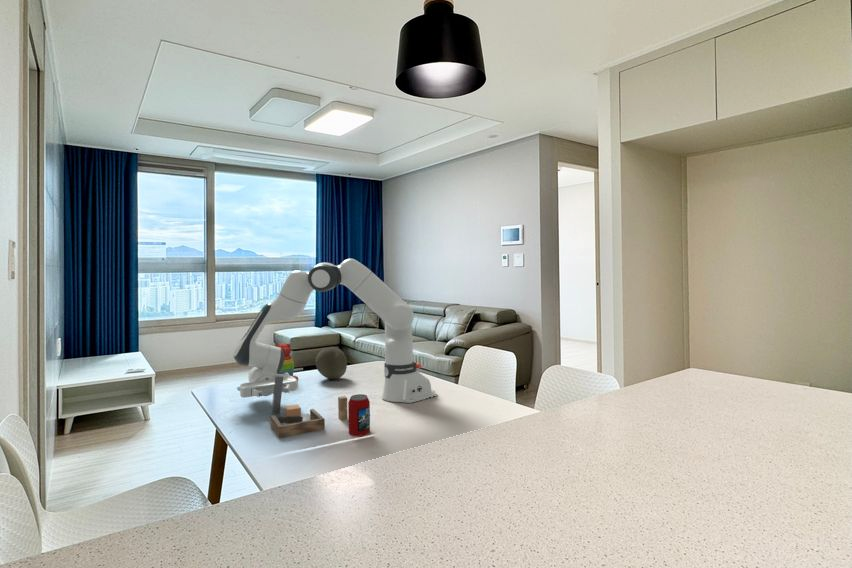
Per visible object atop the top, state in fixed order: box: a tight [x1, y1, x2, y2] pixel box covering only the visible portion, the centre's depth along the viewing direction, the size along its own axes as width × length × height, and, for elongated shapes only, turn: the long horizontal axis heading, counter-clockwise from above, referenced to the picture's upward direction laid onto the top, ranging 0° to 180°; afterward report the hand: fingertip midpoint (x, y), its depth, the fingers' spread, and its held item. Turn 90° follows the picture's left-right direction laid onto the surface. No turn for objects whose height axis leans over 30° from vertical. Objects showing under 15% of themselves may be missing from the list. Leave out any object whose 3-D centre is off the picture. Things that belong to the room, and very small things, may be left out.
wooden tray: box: [266, 408, 326, 439], centre depth 154 cm, size 14×19×4 cm
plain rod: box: [337, 395, 348, 421], centre depth 160 cm, size 2×2×8 cm
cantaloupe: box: [315, 346, 348, 380], centre depth 216 cm, size 14×14×15 cm
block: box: [284, 404, 302, 416], centre depth 159 cm, size 4×4×4 cm
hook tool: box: [270, 376, 303, 423], centre depth 160 cm, size 8×13×14 cm, turn 26°
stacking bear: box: [275, 342, 299, 381], centre depth 213 cm, size 11×10×18 cm
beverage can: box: [347, 393, 371, 438], centre depth 147 cm, size 7×7×12 cm
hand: (273, 392), depth 164 cm, fingers open, 8 cm apart
